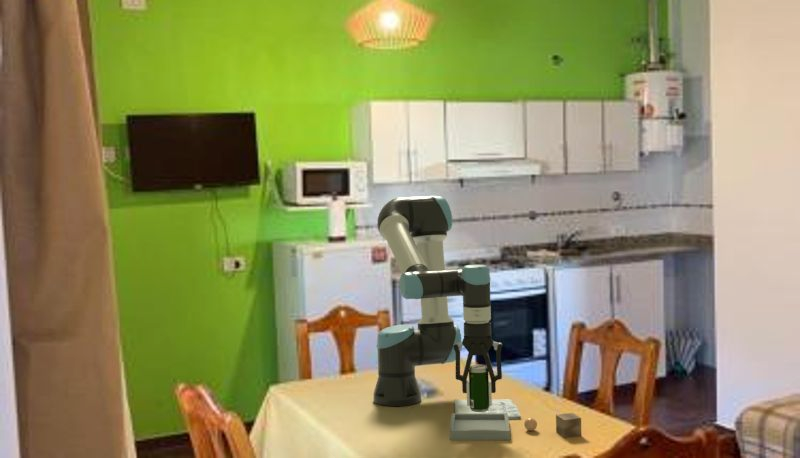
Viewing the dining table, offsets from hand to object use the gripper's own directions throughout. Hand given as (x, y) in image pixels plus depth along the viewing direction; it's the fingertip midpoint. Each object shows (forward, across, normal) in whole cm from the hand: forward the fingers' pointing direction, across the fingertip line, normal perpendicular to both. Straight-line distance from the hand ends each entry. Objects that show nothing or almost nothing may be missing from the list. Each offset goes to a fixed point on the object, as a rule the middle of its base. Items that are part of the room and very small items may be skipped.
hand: (479, 404), depth 228 cm
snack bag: (+8, +2, +20) cm, 22 cm away
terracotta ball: (+6, +14, 0) cm, 15 cm away
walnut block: (+8, +24, -3) cm, 25 cm away
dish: (+7, 0, 0) cm, 8 cm away
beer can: (+2, 0, 0) cm, 2 cm away
